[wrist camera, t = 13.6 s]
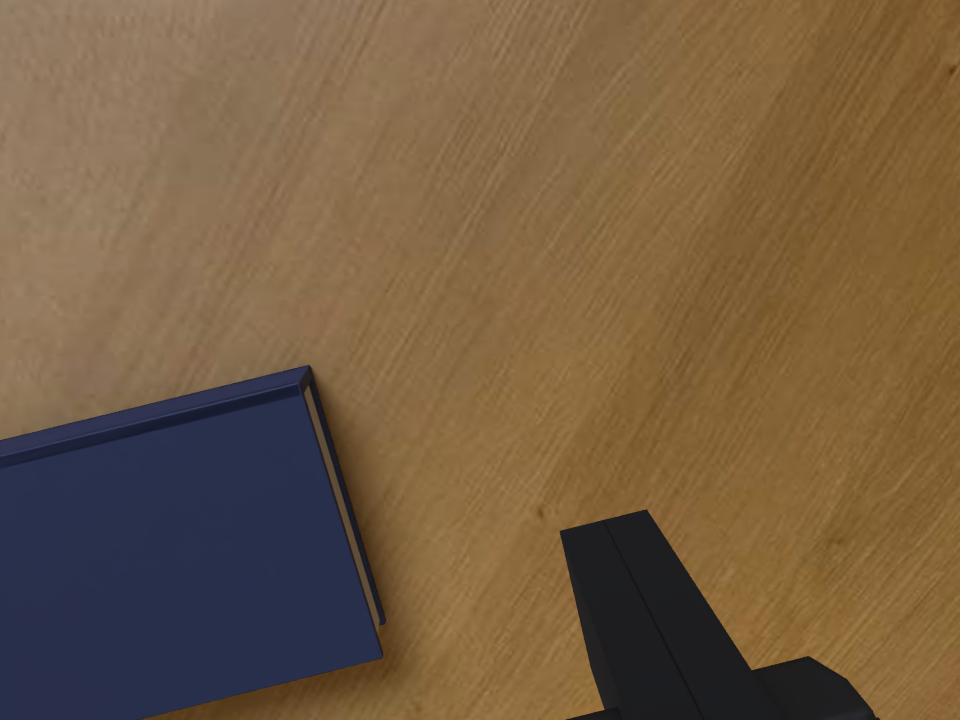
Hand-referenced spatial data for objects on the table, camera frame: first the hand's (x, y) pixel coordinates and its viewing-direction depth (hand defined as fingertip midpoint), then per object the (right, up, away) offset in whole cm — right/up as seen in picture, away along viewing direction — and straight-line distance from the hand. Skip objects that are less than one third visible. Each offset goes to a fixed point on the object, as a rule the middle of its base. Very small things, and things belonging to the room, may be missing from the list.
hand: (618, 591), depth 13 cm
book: (-20, -5, +21) cm, 30 cm away
